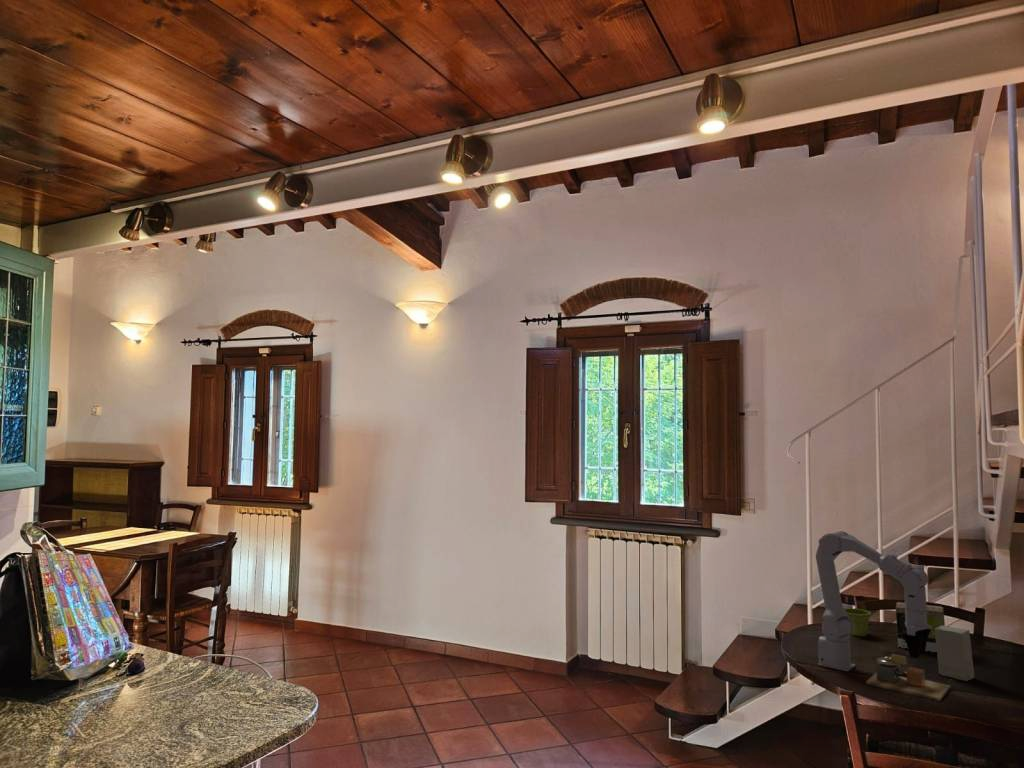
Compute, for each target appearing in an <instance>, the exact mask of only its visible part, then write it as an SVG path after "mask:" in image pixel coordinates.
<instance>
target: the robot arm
mask: <svg viewBox="0 0 1024 768" xmlns="http://www.w3.org/2000/svg"><path fill="white" fill-rule="evenodd" d="M843 552H848V553H849V552H853V553H856V554H857V555H860V556H861V557H863V558H865V559H866V560H869V561H871V562H873V563H875V564H877V566H878V568H879V570H880V571H882V572H883V573H885V574H887V575H889V576H890V577H892V578H893V579H895V580H896V581H899V582H900V583H901V585H902V587H903V588H904V589H903V590H904V603H905V621H906V622H905V626H906V627H907V632H904V631H903V632H902V636H903V637H904V639H905V641H906V643H907V646H908V649H907V650H908V653H909V657H911V658H913V659H920V658H919V657H920V654H921V653H925V652H926V651H925V649H926V643H927V639H928V636H929V633H930V632H931V628H932V626H931V625H928V624H927V607H926V605H927V594H926V592H927V591H926V585H928V583H929V575H928V574H927V573H926V571H924V569H922V568H920V567H913V565H912V564H910V563H908V564H907V563H906V562H903V561H902V560H900V559H899V558H898V556H897V555H895V554H892V555H891V554H884V555H883V554H882V553H880V552H879V551H877V550H875V549H874V548H872V547H871V546H869V545H867V544H866V543H864V542H863V541H861V540H859V539H858V538H856V537H855V535H851V534H849V533H848V532H846V531H843V530H841V531H837V532H832V533H831V532H830V533H828V532H827V533H825V534H823V535H822V536H821V537H820V538H819V539H818V547H817V549H816V553H815V560H816V565H817V566H816V567H817V570H818V576H819V581H820V586H821V587H820V588H821V593H822V597H823V602H824V608H825V610H824V612H823V614H822V625H821V631H822V634H823V635H821V636H819V638H818V642H817V652H818V656H817V657H818V663H817V665H818V666H820V667H825V668H829V669H830V668H831V669H834V670H835V669H836V670H839V671H843V672H850V671H851V670H852V669H853V668H855V667H856V664H855V663H852V657H851V655H852V654H851V637H850V635H852V634H851V633H852V631H853V625H852V622H851V621H850V619H849V617H848V613H847V612H846V611H845V610H844V609H845V608H844V607H843V602H842V597H841V592H840V591H841V590H840V587H839V586H840V585H839V580H838V574H837V571H836V566H835V560H836V558H838V556H839V555H840V554H842V553H843Z"/></svg>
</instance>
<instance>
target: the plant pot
mask: <svg viewBox="0 0 1024 768" xmlns="http://www.w3.org/2000/svg"><path fill="white" fill-rule="evenodd" d="M843 609H844V610H845V611H846V612H847V613H848V617H849V619H850V621H851V622H852V625H853V631H852V633H851V634H850V635H853V636H857V637H866V636H867V635H868V628H869V619H870V616H871V615H872V613H871V611H869V610H865V609H862V608H861V609H860V608H843Z"/></svg>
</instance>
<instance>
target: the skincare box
mask: <svg viewBox="0 0 1024 768" xmlns="http://www.w3.org/2000/svg"><path fill="white" fill-rule="evenodd" d="M935 636H936V646H937V653H936V654H937V656H936V657H937V666H938V674H941V676H944V677H947V678H948V677H949V678H953V679H956V680H960V681H964V682H968V681H969V680H970V681H971V680H973V679H974V678H975V670H974V661H973V652H972V644H971V635H970V630H969V629H964V628H960V627H959V628H958V627H952V626H948V625H945V626H940V627H937V628H935Z"/></svg>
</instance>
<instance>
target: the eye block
mask: <svg viewBox="0 0 1024 768" xmlns="http://www.w3.org/2000/svg"><path fill="white" fill-rule="evenodd" d="M875 669H876V670H875V671H876V672H875V673H877V680H879V681H884V682H888V683H892V684H895V683H896V682H897V681H898V680H900V679H901V676H896V669H897V670H902V669H901V664H900V663H899V666H885V665H882V664H879V663H878V662H877V664H875Z"/></svg>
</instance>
